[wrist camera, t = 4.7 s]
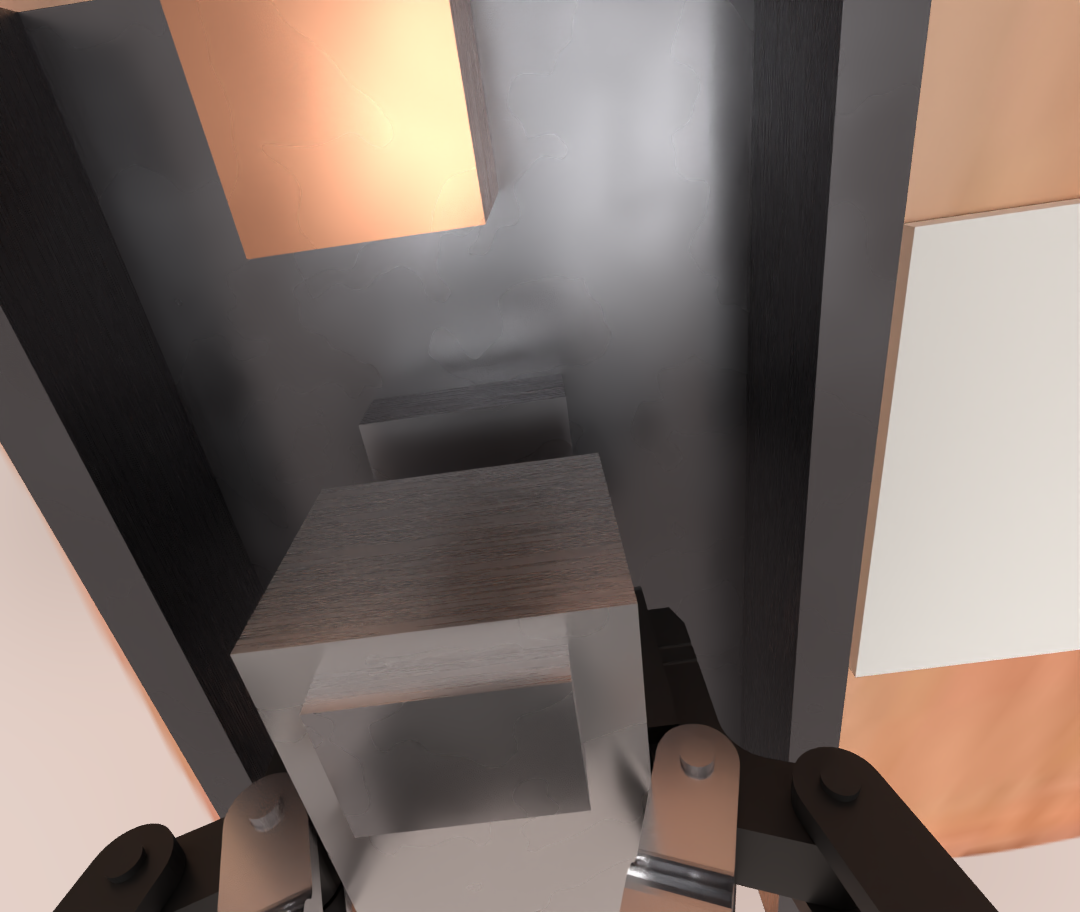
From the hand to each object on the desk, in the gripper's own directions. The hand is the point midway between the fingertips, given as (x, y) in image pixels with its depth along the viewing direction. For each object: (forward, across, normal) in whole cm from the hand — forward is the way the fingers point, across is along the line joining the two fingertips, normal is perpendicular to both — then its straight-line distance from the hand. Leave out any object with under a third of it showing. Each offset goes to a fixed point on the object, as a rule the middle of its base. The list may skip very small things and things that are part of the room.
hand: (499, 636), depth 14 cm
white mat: (+5, -18, 0) cm, 18 cm away
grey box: (-1, 0, 0) cm, 1 cm away
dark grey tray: (+5, 0, 0) cm, 5 cm away
